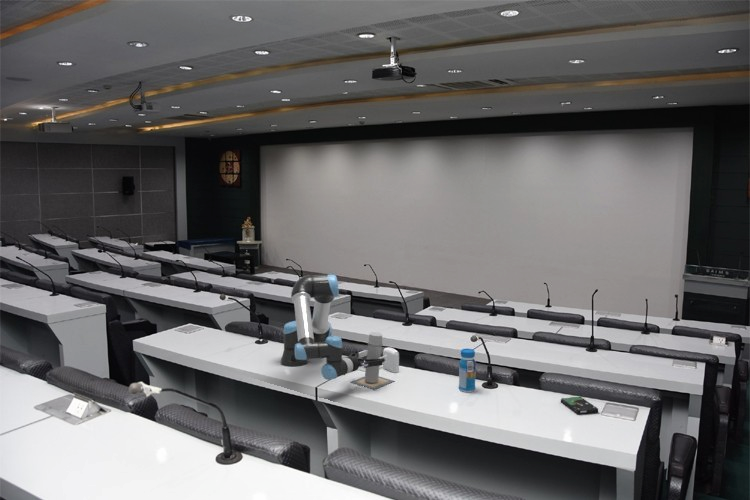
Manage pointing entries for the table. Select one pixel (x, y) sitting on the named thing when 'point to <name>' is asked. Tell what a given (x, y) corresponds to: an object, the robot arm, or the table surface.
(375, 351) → the water bottle
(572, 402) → the disk drive
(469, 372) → the beverage bottle
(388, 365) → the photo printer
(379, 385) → the pad
